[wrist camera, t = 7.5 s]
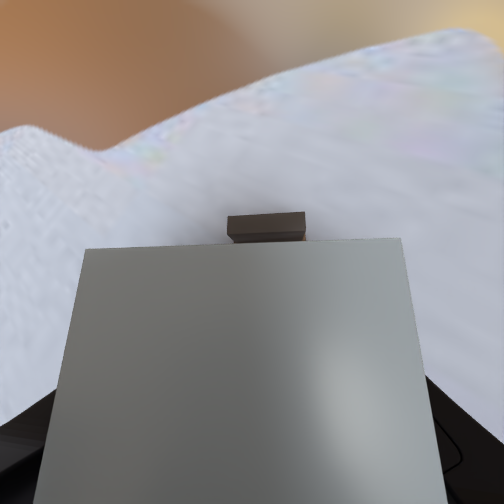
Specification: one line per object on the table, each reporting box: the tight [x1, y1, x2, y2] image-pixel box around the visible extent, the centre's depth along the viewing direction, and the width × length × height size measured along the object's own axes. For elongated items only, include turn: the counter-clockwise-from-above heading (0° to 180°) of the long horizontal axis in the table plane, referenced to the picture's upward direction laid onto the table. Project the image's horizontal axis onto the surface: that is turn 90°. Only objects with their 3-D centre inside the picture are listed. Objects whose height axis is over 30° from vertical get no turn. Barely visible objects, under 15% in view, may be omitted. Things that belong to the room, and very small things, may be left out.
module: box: [33, 238, 448, 504], centre depth 9 cm, size 5×6×12 cm
